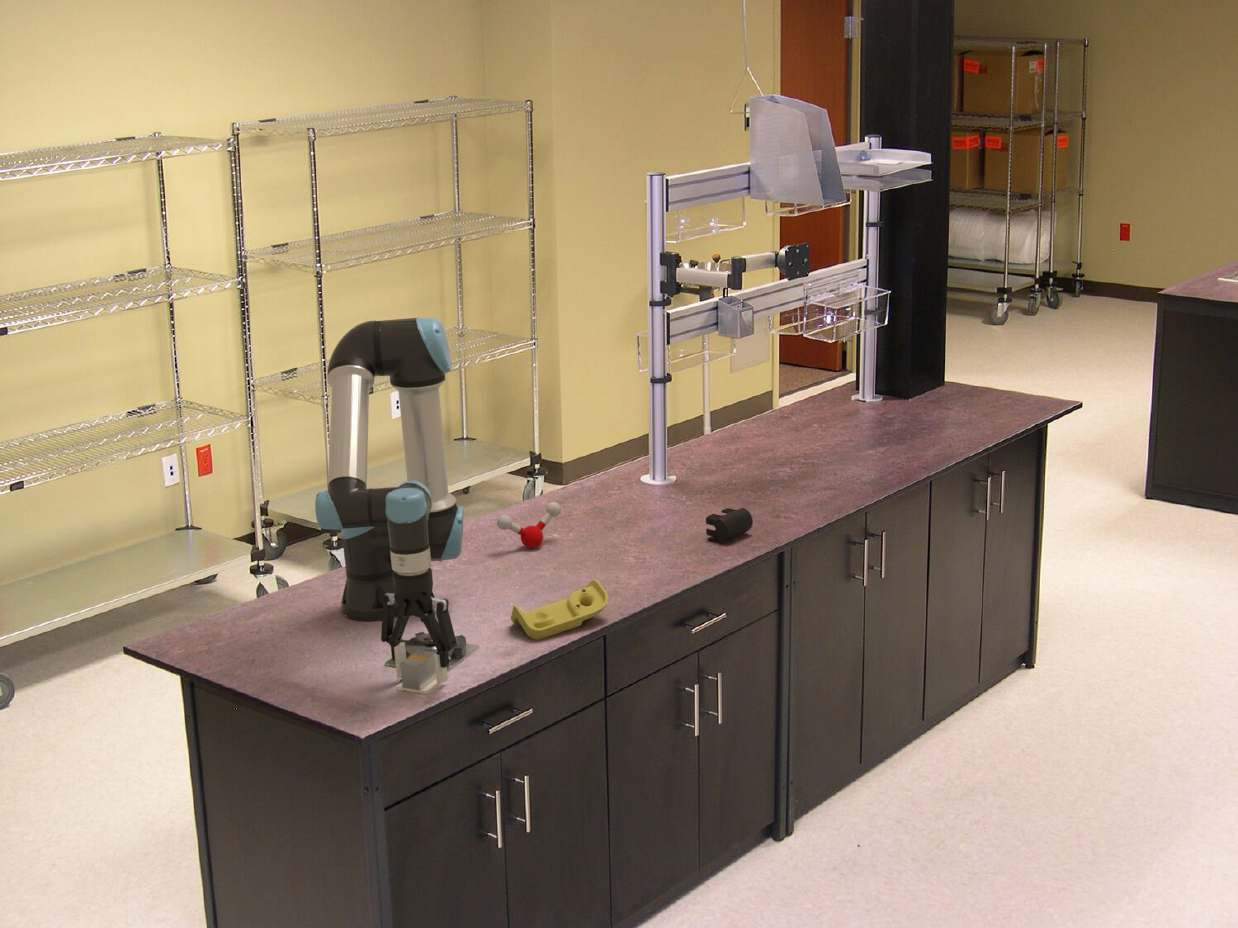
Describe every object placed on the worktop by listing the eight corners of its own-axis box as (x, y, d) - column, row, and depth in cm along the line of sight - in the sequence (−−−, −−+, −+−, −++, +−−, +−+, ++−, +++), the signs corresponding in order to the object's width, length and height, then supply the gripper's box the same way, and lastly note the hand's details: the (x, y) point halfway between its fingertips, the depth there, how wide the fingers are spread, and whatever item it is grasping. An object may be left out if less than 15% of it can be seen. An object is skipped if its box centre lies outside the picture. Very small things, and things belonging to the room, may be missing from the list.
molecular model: (553, 535, 369) (550, 497, 366) (567, 541, 365) (565, 502, 362) (496, 553, 358) (493, 514, 356) (510, 559, 354) (507, 520, 351)
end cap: (728, 546, 355) (727, 520, 353) (705, 541, 360) (704, 515, 358) (753, 535, 362) (752, 509, 360) (731, 530, 367) (730, 504, 365)
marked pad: (396, 689, 286) (395, 685, 286) (418, 672, 293) (417, 669, 293) (427, 694, 283) (426, 690, 283) (448, 677, 290) (448, 674, 290)
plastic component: (533, 633, 304) (511, 600, 310) (530, 656, 309) (509, 624, 315) (616, 604, 313) (593, 573, 319) (612, 628, 317) (590, 597, 324)
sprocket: (434, 634, 310) (429, 589, 307) (480, 648, 301) (476, 603, 298) (383, 656, 300) (378, 610, 297) (430, 672, 291) (425, 625, 288)
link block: (402, 687, 285) (399, 662, 284) (421, 672, 291) (419, 648, 290) (420, 690, 284) (418, 665, 282) (439, 675, 290) (437, 651, 288)
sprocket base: (384, 665, 297) (384, 663, 297) (421, 639, 310) (421, 636, 309) (444, 674, 292) (444, 672, 292) (479, 647, 304) (479, 644, 304)
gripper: (354, 570, 283) (365, 679, 289) (449, 581, 274) (459, 693, 280) (375, 557, 289) (386, 664, 295) (469, 568, 280) (479, 677, 287)
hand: (422, 678), depth 288 cm, fingers open, 8 cm apart
